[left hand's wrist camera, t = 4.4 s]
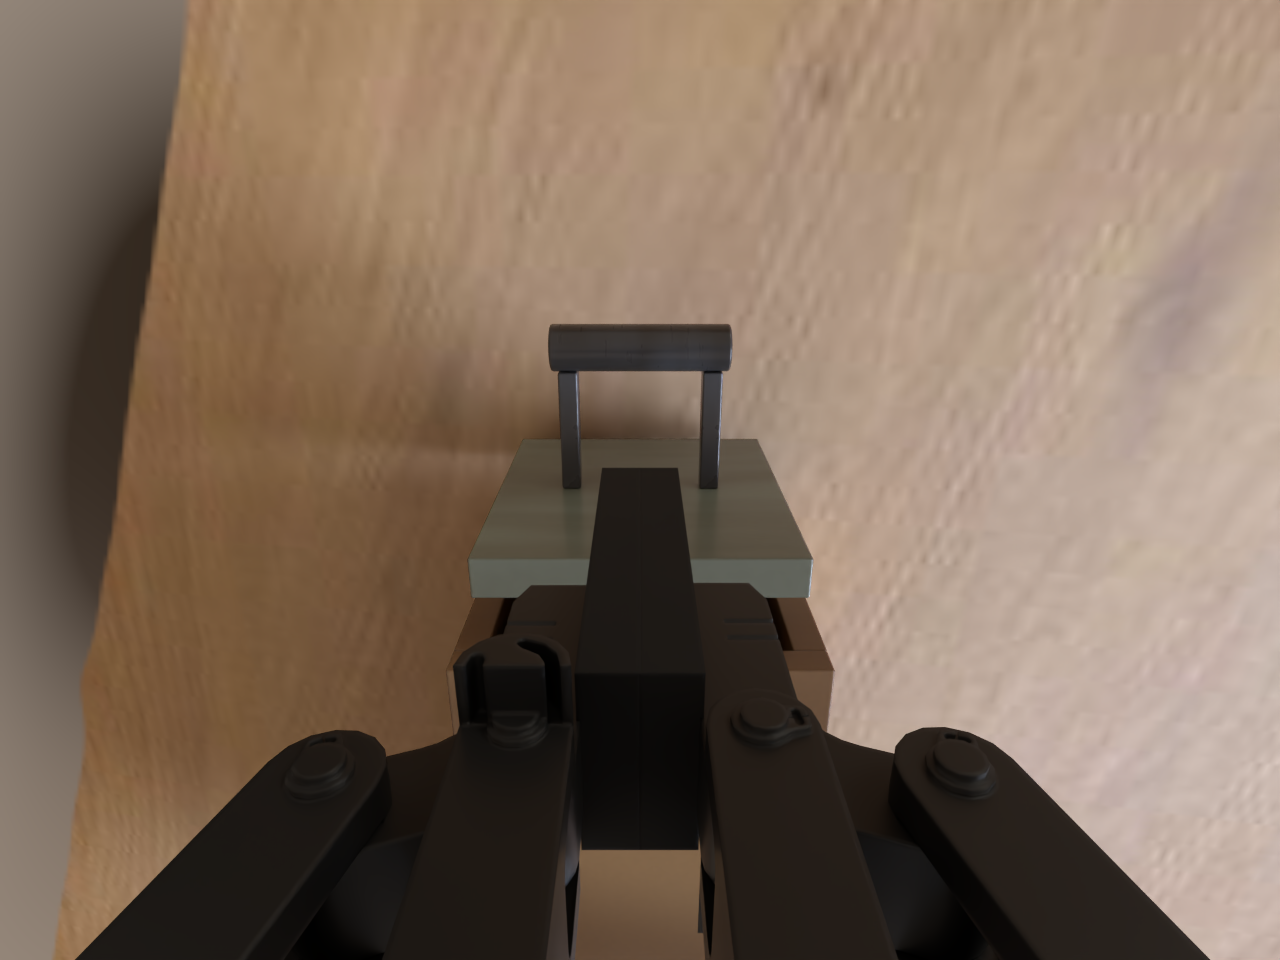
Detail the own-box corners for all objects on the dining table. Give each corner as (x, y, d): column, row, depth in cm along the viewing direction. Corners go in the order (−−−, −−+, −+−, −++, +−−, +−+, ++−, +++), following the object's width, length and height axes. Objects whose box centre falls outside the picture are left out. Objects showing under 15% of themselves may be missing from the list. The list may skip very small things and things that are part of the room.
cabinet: (515, 495, 30) (445, 670, 19) (764, 495, 30) (835, 670, 19) (540, 857, 38) (500, 1131, 27) (739, 857, 38) (780, 1131, 27)
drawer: (513, 301, 26) (447, 361, 17) (766, 301, 26) (833, 361, 17) (546, 813, 35) (513, 1031, 26) (733, 813, 35) (766, 1031, 26)
